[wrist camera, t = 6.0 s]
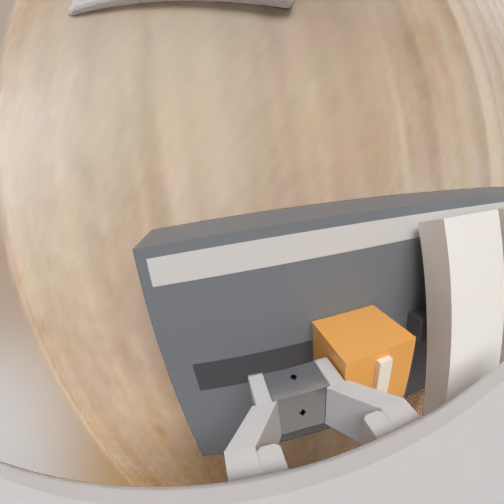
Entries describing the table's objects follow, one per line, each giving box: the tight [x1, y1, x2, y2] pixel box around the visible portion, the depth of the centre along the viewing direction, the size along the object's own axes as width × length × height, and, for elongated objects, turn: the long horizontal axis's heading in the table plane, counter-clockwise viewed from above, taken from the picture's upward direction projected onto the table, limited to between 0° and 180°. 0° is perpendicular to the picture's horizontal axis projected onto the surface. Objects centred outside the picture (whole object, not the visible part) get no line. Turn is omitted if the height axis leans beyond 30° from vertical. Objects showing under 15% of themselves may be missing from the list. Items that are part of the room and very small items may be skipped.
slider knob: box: [312, 305, 416, 398], centre depth 10 cm, size 3×3×3 cm
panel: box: [133, 187, 504, 456], centre depth 14 cm, size 26×11×5 cm, turn 98°
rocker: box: [418, 209, 504, 416], centre depth 10 cm, size 4×10×2 cm, turn 8°
